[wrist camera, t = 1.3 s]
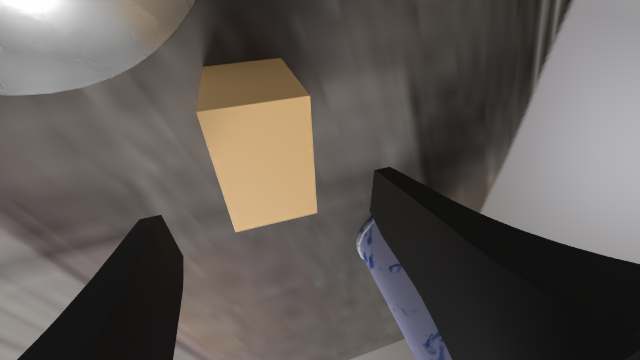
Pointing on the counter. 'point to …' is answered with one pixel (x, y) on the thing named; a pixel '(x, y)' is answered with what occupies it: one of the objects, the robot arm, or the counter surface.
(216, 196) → the counter surface
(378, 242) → the aerosol can
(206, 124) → the tan rectangular block
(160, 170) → the counter surface
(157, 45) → the gray round plate
